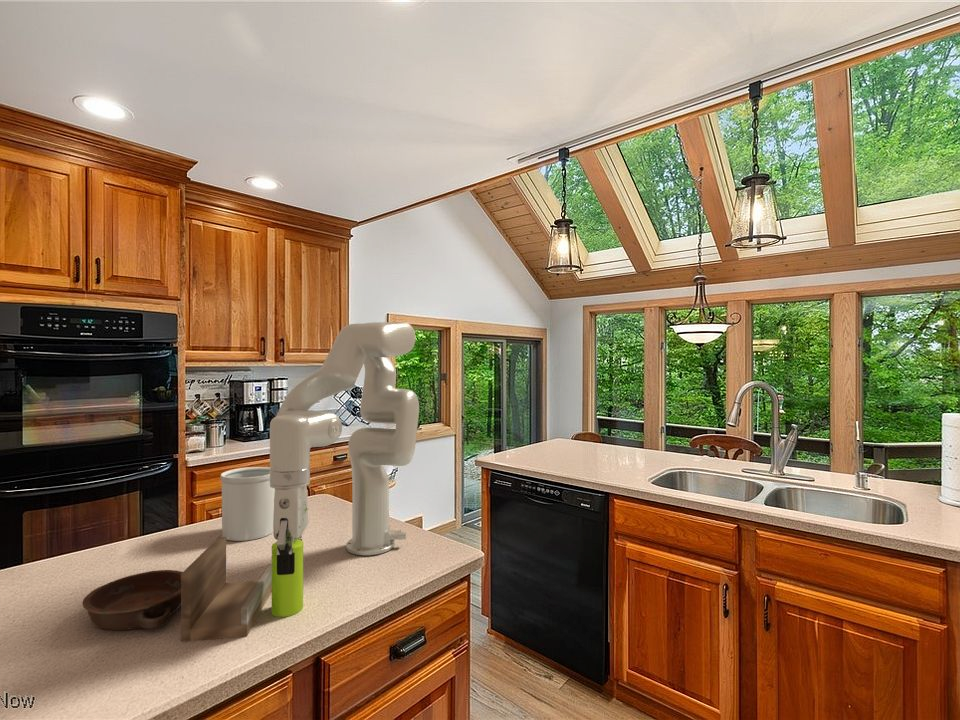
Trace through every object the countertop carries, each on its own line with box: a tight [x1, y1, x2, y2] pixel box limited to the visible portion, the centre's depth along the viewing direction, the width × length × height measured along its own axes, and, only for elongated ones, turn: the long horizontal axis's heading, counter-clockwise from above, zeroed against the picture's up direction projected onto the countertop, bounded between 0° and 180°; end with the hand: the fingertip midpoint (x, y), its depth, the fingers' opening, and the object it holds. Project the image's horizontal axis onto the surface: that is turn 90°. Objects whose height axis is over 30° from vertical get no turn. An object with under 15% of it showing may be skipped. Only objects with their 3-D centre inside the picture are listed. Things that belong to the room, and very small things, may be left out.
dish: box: [81, 569, 184, 631], centre depth 96 cm, size 18×22×5 cm
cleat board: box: [180, 536, 272, 642], centre depth 96 cm, size 11×18×12 cm, turn 9°
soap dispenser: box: [271, 508, 309, 618], centre depth 98 cm, size 6×7×20 cm
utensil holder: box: [220, 466, 275, 542], centre depth 140 cm, size 15×15×18 cm
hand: (289, 565), depth 98 cm, fingers open, 6 cm apart
